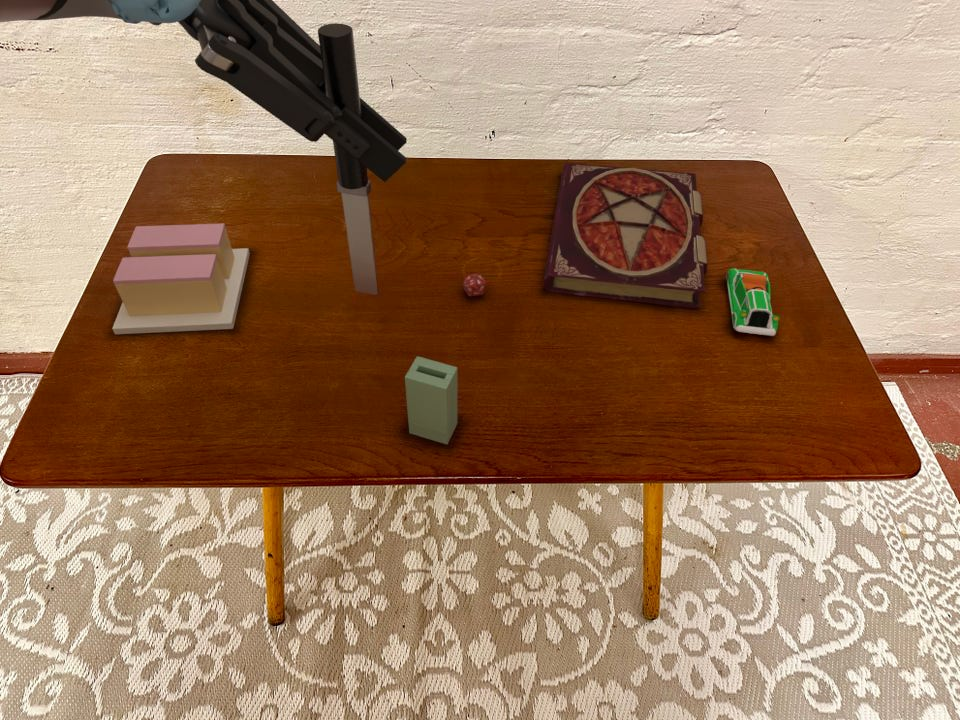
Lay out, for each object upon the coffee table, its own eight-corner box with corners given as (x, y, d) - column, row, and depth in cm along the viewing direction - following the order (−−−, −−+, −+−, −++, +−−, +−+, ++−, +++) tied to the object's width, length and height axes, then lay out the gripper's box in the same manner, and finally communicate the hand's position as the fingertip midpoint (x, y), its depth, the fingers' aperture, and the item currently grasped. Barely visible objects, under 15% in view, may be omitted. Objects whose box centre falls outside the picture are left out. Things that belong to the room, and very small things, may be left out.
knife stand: (447, 444, 72) (446, 389, 66) (409, 433, 73) (404, 377, 67) (457, 423, 74) (457, 367, 68) (420, 412, 75) (417, 355, 69)
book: (561, 180, 110) (564, 152, 106) (695, 192, 107) (703, 163, 104) (542, 294, 91) (544, 264, 87) (705, 312, 88) (714, 282, 84)
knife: (375, 303, 69) (346, 38, 50) (349, 298, 69) (310, 34, 51) (383, 286, 71) (358, 25, 52) (358, 282, 71) (324, 21, 52)
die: (489, 296, 89) (490, 279, 87) (468, 303, 88) (469, 286, 86) (479, 283, 91) (479, 266, 89) (458, 290, 90) (458, 272, 88)
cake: (233, 329, 84) (219, 287, 79) (114, 334, 83) (93, 293, 78) (250, 253, 94) (238, 213, 89) (144, 257, 93) (127, 217, 88)
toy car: (774, 343, 84) (786, 317, 81) (731, 338, 85) (742, 312, 82) (761, 282, 92) (772, 256, 89) (723, 277, 93) (732, 251, 90)
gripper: (140, -52, 53) (372, 142, 67) (70, 26, 43) (363, 239, 56) (190, -132, 50) (424, 89, 63) (128, -70, 39) (426, 182, 52)
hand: (395, 159), depth 59 cm, fingers closed on knife, 3 cm apart
